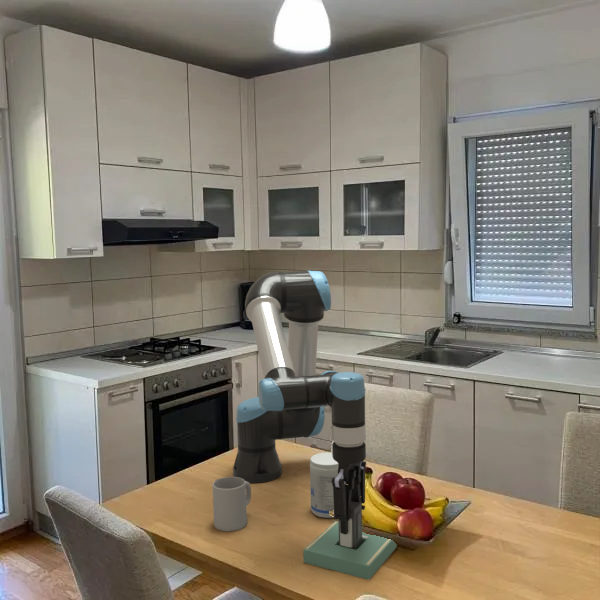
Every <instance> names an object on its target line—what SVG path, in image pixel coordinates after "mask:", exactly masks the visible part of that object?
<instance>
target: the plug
mask: <svg viewBox="0 0 600 600" xmlns="http://www.w3.org/2000/svg"><path fill="white" fill-rule="evenodd" d="M362 505H363V503H359V502H354V501H351V510H350V518H351V519H352V548H351V549H353V548H356V547H357V546H358V545H359V544H360V543H361V541H362V527H363V510H362ZM338 523H339V544H340V520H338Z"/></svg>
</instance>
